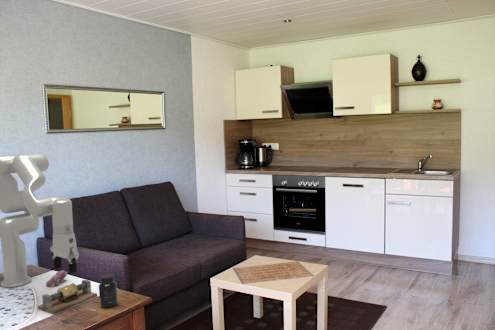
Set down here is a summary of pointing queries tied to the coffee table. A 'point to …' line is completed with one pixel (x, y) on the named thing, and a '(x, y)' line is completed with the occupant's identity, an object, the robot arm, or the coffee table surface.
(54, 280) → the dusty red lumpy block
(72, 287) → the coupling sleeve
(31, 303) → the coffee table surface
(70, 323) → the coffee table surface
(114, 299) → the supplement bottle
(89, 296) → the shaft bench
